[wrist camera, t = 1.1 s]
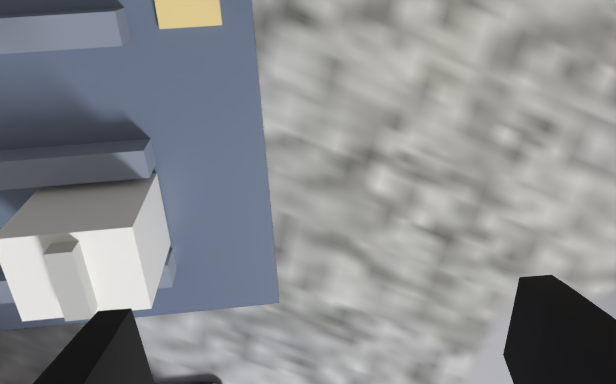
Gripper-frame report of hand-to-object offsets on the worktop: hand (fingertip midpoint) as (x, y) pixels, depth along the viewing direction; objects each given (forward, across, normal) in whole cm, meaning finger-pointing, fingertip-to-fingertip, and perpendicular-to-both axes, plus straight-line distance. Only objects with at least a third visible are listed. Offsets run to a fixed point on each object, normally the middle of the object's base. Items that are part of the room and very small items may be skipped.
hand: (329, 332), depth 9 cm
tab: (+9, +7, +3) cm, 12 cm away
